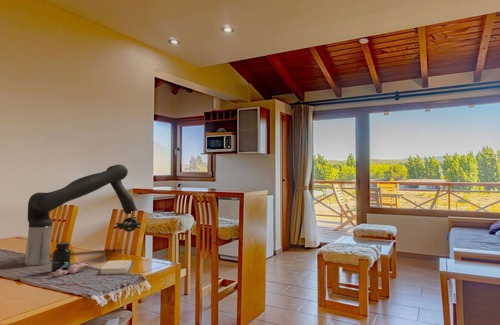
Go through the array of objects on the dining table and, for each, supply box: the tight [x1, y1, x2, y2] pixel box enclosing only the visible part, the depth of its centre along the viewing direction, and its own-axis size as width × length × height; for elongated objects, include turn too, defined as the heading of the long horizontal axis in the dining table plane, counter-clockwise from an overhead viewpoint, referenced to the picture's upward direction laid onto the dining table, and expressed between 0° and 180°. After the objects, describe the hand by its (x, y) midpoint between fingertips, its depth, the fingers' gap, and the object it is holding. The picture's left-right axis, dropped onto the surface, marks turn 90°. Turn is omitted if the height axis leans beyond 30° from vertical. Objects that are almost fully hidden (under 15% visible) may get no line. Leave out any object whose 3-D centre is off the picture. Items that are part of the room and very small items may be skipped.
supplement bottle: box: [50, 241, 72, 273], centre depth 135 cm, size 7×7×12 cm
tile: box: [100, 259, 133, 274], centre depth 138 cm, size 2×10×15 cm
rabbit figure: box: [48, 262, 90, 279], centre depth 131 cm, size 6×6×15 cm
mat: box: [96, 261, 136, 277], centre depth 140 cm, size 22×12×1 cm, turn 13°
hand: (125, 227), depth 157 cm, fingers closed
